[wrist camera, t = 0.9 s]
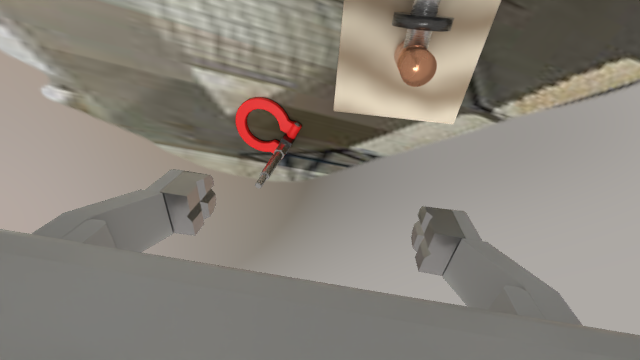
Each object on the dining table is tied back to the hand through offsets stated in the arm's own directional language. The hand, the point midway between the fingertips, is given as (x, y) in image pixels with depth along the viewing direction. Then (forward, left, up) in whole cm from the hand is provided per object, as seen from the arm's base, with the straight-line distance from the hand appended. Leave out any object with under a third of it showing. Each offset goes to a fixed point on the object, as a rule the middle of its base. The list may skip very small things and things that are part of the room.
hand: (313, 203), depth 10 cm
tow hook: (+11, -11, -28) cm, 32 cm away
